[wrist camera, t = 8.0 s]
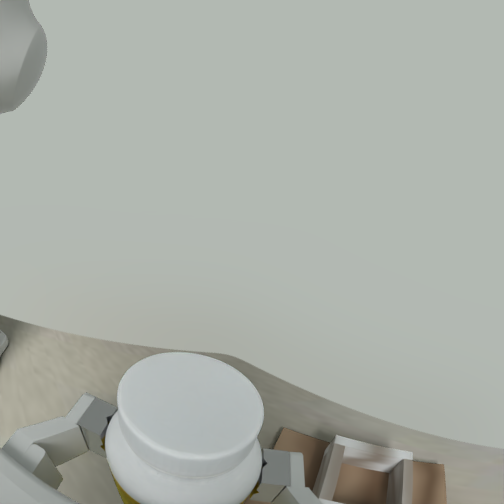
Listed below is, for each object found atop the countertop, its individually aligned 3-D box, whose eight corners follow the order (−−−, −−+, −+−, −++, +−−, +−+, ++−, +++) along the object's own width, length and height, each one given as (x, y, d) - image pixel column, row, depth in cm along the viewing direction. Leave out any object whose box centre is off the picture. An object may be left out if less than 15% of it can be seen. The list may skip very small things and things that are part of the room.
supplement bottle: (154, 556, 5) (126, 510, 3) (111, 475, 10) (75, 342, 7) (249, 523, 9) (328, 428, 6) (197, 455, 13) (224, 327, 10)
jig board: (237, 513, 15) (247, 500, 14) (281, 432, 26) (292, 411, 25) (439, 543, 9) (466, 528, 7) (439, 468, 19) (458, 450, 18)
